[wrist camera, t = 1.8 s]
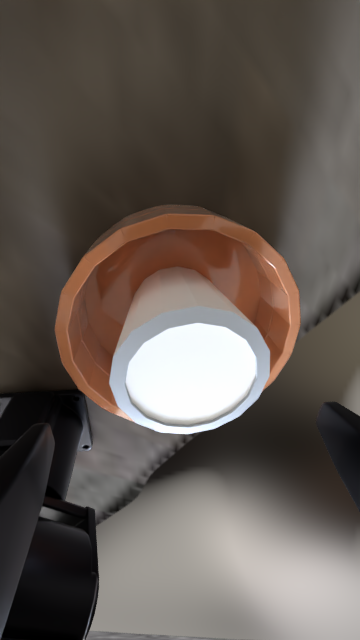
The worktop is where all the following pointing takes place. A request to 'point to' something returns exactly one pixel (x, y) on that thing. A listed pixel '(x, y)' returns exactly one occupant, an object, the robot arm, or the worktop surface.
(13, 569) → the robot arm
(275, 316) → the bowl
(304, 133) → the worktop surface
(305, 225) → the worktop surface
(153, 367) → the shot glass
